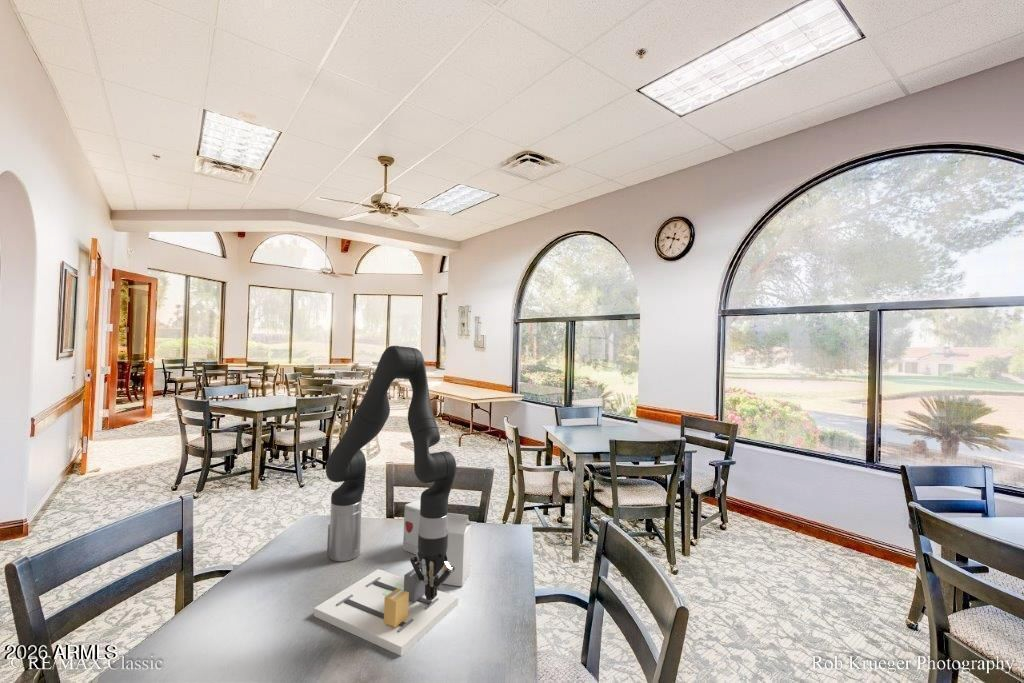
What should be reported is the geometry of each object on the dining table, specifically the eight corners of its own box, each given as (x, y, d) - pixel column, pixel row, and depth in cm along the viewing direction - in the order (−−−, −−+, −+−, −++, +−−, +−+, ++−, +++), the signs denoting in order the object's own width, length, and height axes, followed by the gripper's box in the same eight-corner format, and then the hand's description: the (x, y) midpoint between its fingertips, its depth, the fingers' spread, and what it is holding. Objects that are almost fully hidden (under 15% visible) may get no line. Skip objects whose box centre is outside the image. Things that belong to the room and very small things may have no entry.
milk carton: (462, 587, 126) (464, 520, 126) (438, 583, 127) (440, 517, 127) (469, 574, 133) (471, 510, 133) (446, 571, 134) (449, 508, 134)
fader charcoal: (403, 598, 115) (404, 574, 115) (414, 589, 119) (415, 566, 119) (414, 602, 114) (415, 578, 114) (425, 593, 118) (426, 570, 118)
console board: (313, 616, 110) (314, 606, 110) (378, 575, 130) (378, 568, 130) (401, 656, 98) (401, 645, 98) (457, 604, 117) (458, 596, 117)
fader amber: (383, 622, 105) (384, 596, 105) (396, 612, 109) (397, 587, 109) (395, 627, 103) (396, 601, 103) (408, 617, 107) (408, 591, 107)
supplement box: (401, 550, 146) (403, 504, 146) (420, 540, 154) (422, 496, 154) (422, 558, 142) (424, 510, 142) (441, 547, 149) (442, 502, 149)
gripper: (403, 530, 114) (400, 598, 114) (445, 542, 108) (443, 614, 108) (421, 520, 120) (419, 584, 120) (463, 531, 114) (460, 598, 114)
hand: (430, 598), depth 114 cm, fingers closed
